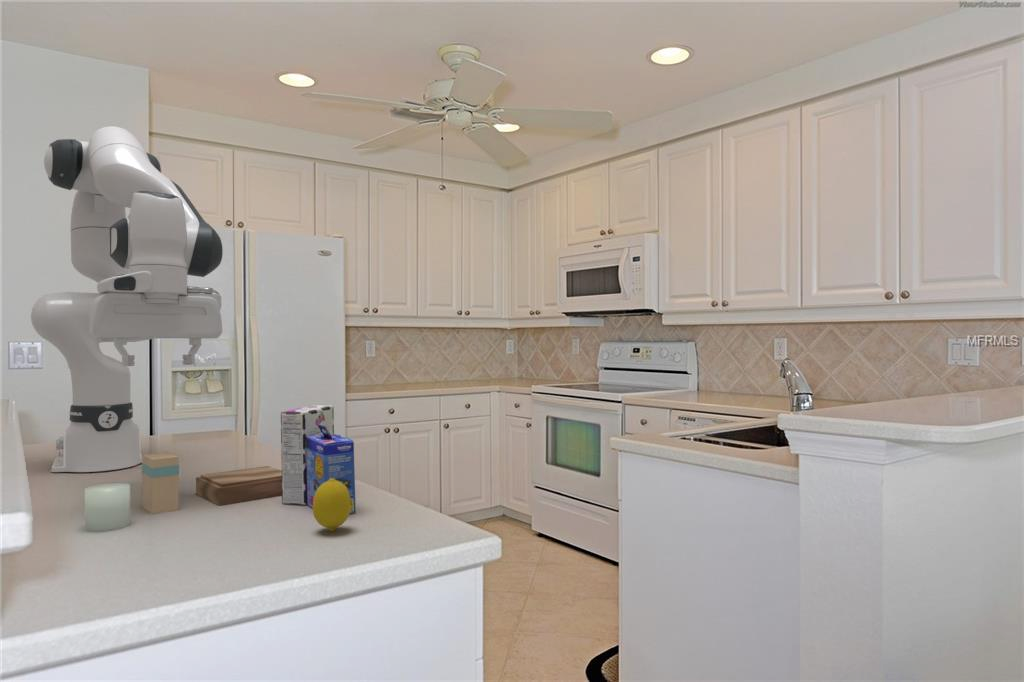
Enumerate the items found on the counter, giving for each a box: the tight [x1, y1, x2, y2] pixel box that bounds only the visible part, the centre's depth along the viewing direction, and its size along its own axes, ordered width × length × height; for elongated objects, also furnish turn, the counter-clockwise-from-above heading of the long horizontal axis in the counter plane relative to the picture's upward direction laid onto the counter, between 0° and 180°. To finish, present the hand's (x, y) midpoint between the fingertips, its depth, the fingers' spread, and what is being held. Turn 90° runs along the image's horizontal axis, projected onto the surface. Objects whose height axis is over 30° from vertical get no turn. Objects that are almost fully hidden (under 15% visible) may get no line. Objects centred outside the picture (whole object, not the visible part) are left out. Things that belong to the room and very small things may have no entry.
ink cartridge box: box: [306, 424, 357, 514], centre depth 112 cm, size 10×6×14 cm, turn 35°
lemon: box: [312, 478, 351, 532], centre depth 99 cm, size 6×6×8 cm
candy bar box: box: [280, 404, 335, 506], centre depth 120 cm, size 11×5×16 cm, turn 168°
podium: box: [195, 465, 282, 506], centre depth 123 cm, size 12×14×4 cm
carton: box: [141, 451, 180, 515], centre depth 112 cm, size 6×4×9 cm
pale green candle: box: [84, 482, 131, 533], centre depth 101 cm, size 6×6×6 cm
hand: (159, 365), depth 113 cm, fingers open, 8 cm apart
